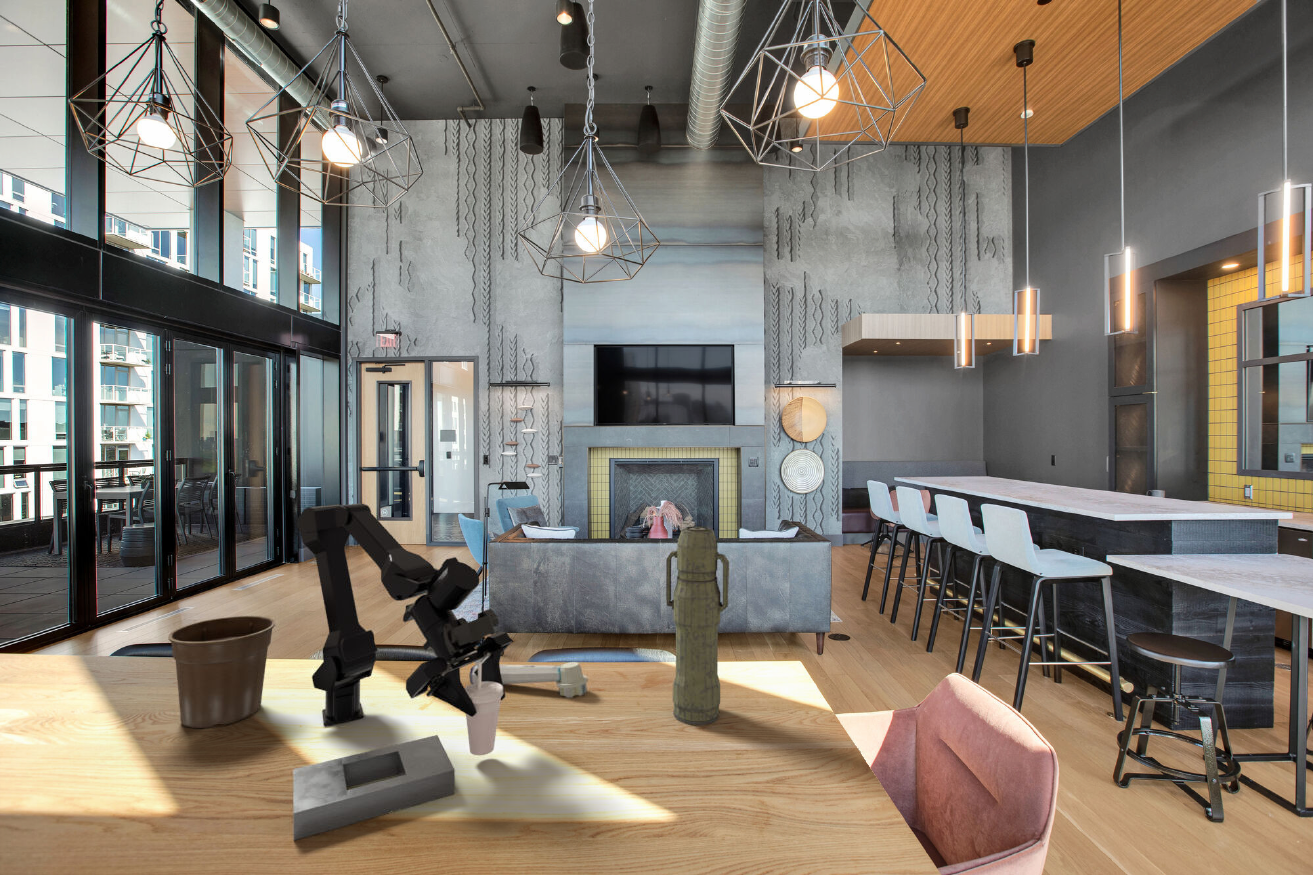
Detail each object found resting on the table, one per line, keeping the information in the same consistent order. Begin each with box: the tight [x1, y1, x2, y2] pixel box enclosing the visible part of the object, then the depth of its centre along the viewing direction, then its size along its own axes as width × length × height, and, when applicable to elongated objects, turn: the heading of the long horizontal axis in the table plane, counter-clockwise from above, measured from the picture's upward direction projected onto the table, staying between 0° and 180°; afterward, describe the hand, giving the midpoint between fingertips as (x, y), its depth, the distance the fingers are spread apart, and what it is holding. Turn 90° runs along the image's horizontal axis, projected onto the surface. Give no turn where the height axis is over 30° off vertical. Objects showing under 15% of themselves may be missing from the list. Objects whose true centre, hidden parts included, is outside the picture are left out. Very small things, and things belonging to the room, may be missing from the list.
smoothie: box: [464, 661, 504, 756], centre depth 97 cm, size 6×6×14 cm
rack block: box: [292, 734, 456, 841], centre depth 87 cm, size 12×20×4 cm, turn 121°
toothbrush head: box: [468, 661, 589, 699], centre depth 125 cm, size 5×7×25 cm
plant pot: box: [167, 615, 276, 729], centre depth 112 cm, size 16×16×16 cm
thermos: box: [665, 525, 730, 726], centre depth 114 cm, size 9×12×35 cm
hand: (489, 706), depth 96 cm, fingers closed on smoothie, 6 cm apart
